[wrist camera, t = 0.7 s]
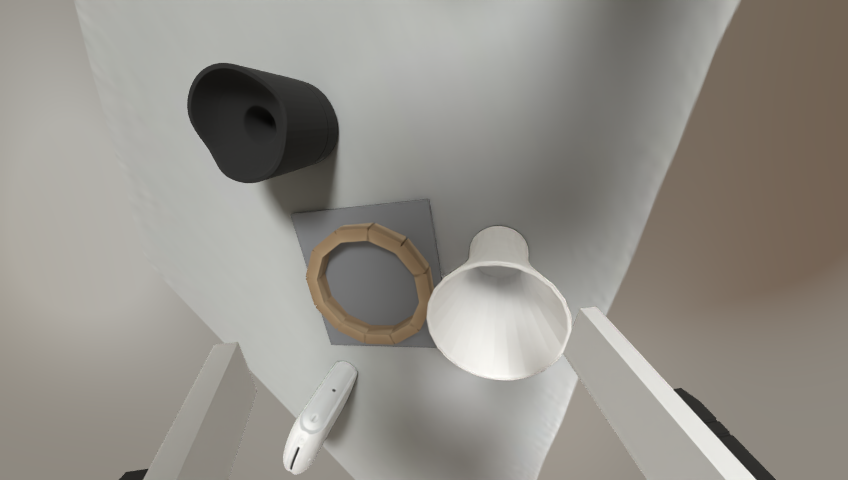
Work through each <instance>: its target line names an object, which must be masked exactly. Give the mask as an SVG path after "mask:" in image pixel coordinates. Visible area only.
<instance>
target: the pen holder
mask: <svg viewBox="0 0 848 480" xmlns="http://www.w3.org/2000/svg"><path fill="white" fill-rule="evenodd" d="M187 108H188V115H189V118H190V121H191V124H192V125H193V127H194V129H195V131H196V132H197V134H198V135H199V137H200V138H201V139H202V141H203V142H204V143H205V145H206V146H207V148H208V149H209V151H210V152H211V154H212V156H213V158H214V160H215V162H216V164H217V165H218V167H219V169H220V170H221V171H222V173H224V174H225V175H226V176H227V177H229V178H231V179H233V180H235V181H238V182H243V183H256V182H260V181H263V180H266V179H269V178H272V177H276V176H279V175H282V174H285V173H288V172H291V171H294V170H297V169H300V168H303V167H306V166H309V165H312V164H314V163H317V162H319V161H321V160H323V159H324V158H326V157H327V156H328V155H329V154H330V152H331V151H332V149H333V148H334V145H335V143H336V139H337V133H338V126H337V119H336V115H335V112H334V109H333V107H332V105H331V103H330V102H329V100H328V99H327V97H326V96H325V95H324V94H323V93H322V92H321V91H320V90H319V89H318V88H316V87H314V86H313V85H311V84H309V83H306V82H303V81H299V80H296V79H292V78H289V77H285V76H280V75H276V74H272V73H268V72H264V71H260V70H256V69H251V68H247V67H243V66H239V65H235V64H229V63H218V64H213V65H211V66H208V67H206V68H205V69H203V70H202V71H201V72H200V73H199V74H198V75H197V76H196V78H195V79H194V81H193V83H192V85H191V87H190V91H189V95H188V103H187Z"/></svg>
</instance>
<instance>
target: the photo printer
mask: <svg viewBox="0 0 848 480" xmlns="http://www.w3.org/2000/svg"><path fill="white" fill-rule="evenodd" d="M356 377H357V371H356V369H355V367H354V366H353V365H351V364H350V363H348V362H345V361H340V362H336V363H335V365H334V366H333V367H332V368H331V370H330V371H329V373H328V374H327V375H326V377H325V378H324V380H323V381H322V383H321V384H320V385H319V387H318V388H317V390H316V391H315V393H314V394H313V396H312V397H311V399H310V400H309V402H308V403H307V404H306V406H305V407H304V409H303V410H302V412H301V413H300V415H299V416H298V418H297V419H296V421H295V423H294V425H293V427H292V430H291V432H290V435H289V437H288V439H287V442H286V446H285V449H284V455H283V462H284V466H285V468H286V470H287V471H291V472H292V473H293V474H300V473H302V472H303V471H305V470H306V469H308V468H309V467H310V466H311V464H312V463H313V461H314V459H315V458H316V456H317V454H318V452H319V450H320V448H321V447H322V445H323V443H324V441H325V439H326V437H327V436H328V434H329V432H330V430H331V428H332V426H333V425H334V423H335V421H336V419H337V418H338V416H339V414H340V412H341V411H342V409H343V407H344V405H345V403H346V401H347V399H348V397H349V394H350V392H351V390H352V388H353V385H354V383H355V380H356Z"/></svg>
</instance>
